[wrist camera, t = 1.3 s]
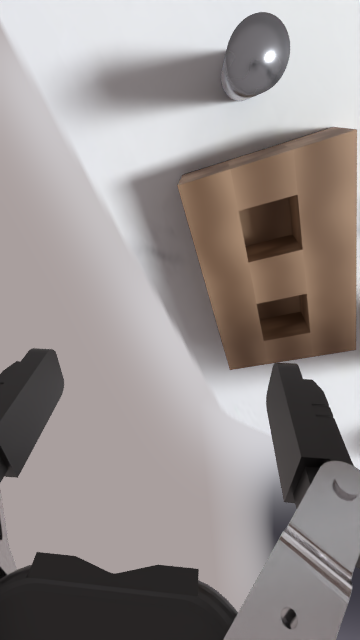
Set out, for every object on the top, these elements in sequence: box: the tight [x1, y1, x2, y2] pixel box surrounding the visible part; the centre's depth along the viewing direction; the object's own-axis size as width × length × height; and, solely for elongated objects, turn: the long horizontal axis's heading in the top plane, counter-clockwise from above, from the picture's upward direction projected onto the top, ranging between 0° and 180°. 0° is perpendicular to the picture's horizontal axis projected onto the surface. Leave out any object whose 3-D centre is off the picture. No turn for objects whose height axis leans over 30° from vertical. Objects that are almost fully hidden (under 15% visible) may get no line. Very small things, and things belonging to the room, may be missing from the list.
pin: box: [221, 12, 290, 101], centre depth 20 cm, size 3×3×10 cm
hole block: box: [177, 127, 357, 370], centre depth 30 cm, size 13×20×5 cm, turn 17°
